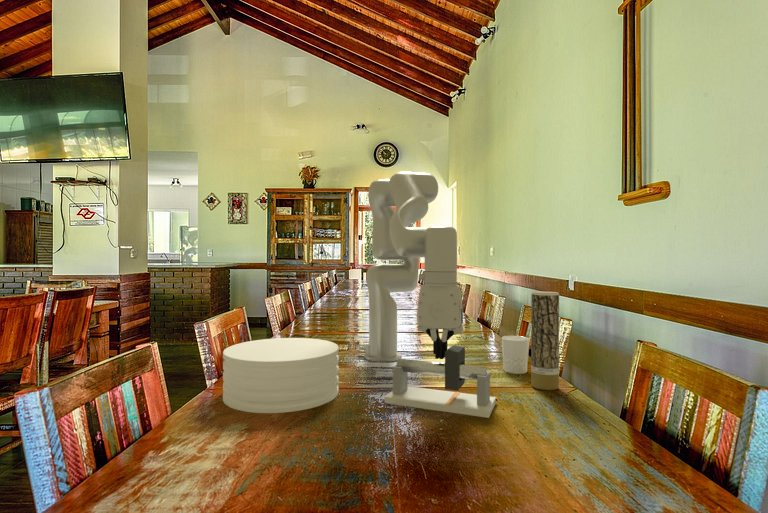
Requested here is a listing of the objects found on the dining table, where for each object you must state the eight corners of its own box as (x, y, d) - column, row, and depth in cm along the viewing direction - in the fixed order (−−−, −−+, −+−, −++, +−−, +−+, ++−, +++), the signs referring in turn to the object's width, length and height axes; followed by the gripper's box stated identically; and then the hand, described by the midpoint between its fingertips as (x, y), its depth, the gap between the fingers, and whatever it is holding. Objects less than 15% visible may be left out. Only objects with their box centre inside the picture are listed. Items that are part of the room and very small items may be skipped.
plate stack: (196, 401, 105) (197, 352, 105) (277, 373, 129) (277, 334, 129) (289, 422, 92) (289, 367, 91) (359, 387, 116) (359, 343, 116)
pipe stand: (384, 403, 103) (384, 368, 103) (399, 391, 112) (399, 359, 112) (488, 417, 94) (488, 380, 94) (495, 403, 103) (495, 369, 103)
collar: (444, 389, 99) (445, 351, 99) (452, 381, 106) (452, 345, 106) (458, 390, 98) (458, 352, 98) (464, 382, 104) (464, 346, 104)
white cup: (532, 374, 128) (532, 340, 128) (505, 374, 128) (505, 340, 128) (524, 368, 136) (524, 335, 136) (498, 367, 136) (498, 335, 136)
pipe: (396, 372, 106) (396, 359, 106) (400, 369, 109) (400, 357, 109) (484, 382, 98) (484, 368, 98) (486, 378, 100) (486, 365, 100)
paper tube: (561, 392, 112) (561, 293, 112) (533, 390, 113) (533, 293, 113) (556, 384, 119) (556, 291, 119) (529, 383, 120) (530, 291, 120)
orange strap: (444, 404, 98) (444, 367, 98) (455, 392, 107) (455, 358, 107) (450, 405, 97) (450, 368, 97) (460, 392, 106) (460, 358, 106)
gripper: (405, 279, 103) (404, 358, 103) (469, 281, 97) (468, 364, 97) (415, 278, 109) (415, 351, 109) (475, 279, 104) (475, 357, 104)
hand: (440, 357), depth 103 cm, fingers closed
